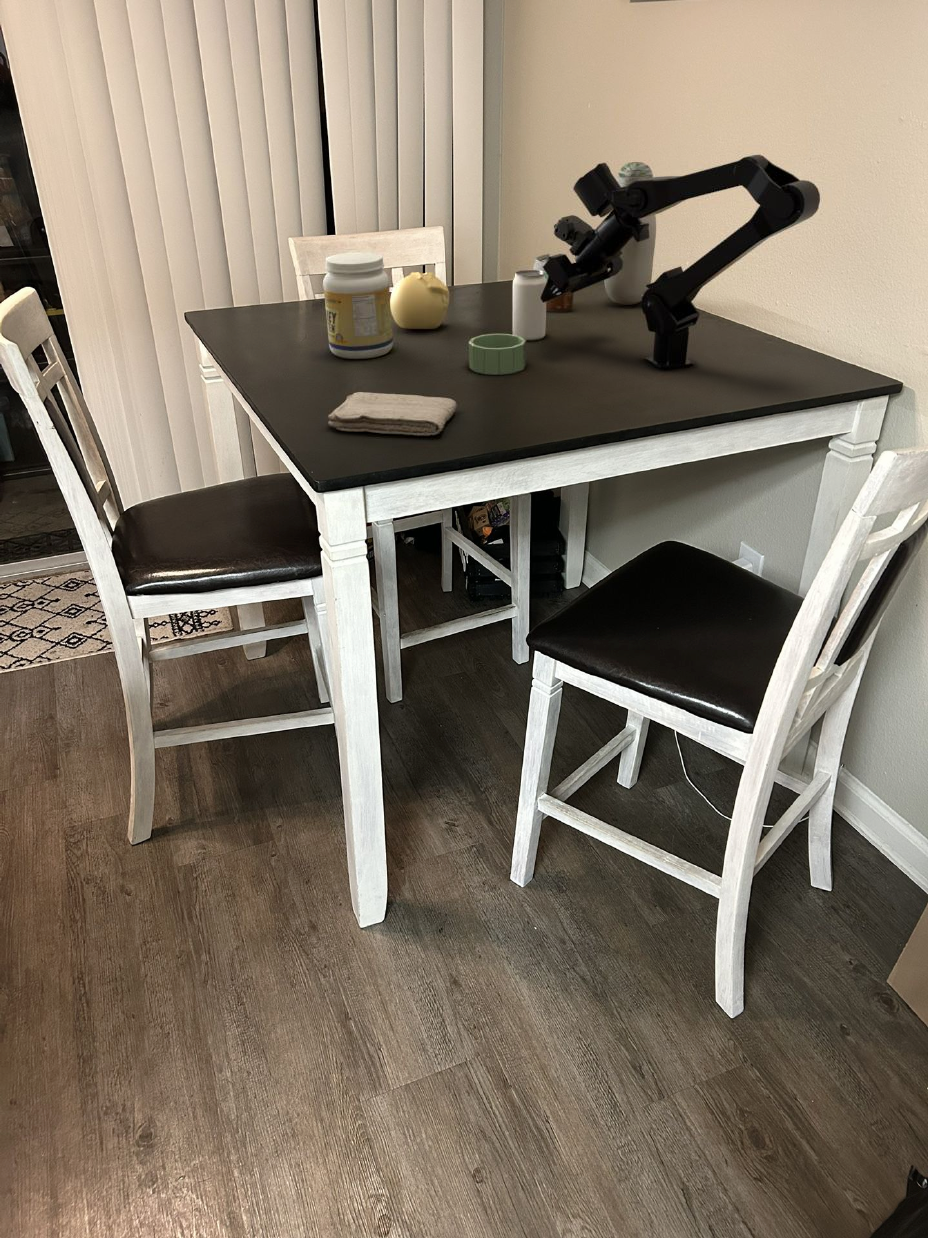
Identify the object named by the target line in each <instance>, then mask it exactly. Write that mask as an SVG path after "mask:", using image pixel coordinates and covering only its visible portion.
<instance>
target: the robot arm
mask: <svg viewBox="0 0 928 1238" xmlns="http://www.w3.org/2000/svg"><path fill="white" fill-rule="evenodd" d="M740 186H742V188H744V189H745V190H746V191H747V192H748V194H749V195H750V196H751V197H752V199H753V200H754V201H755V203H757V204H758V205H759V206H758V207H757V208H756V210H755V212H754V213H753V215H752V216H751V218H750V219H749V220H748V221H747V222H745V223H744V224H743V225H742V226H740V227H739V228H737V230H735V231H733V233H731V234H730V235H729V236H727V237H726V238H725V239H723V240H722V241H721V242H720V243H718V244H717V245H716V246H714V247H713V248H712V249H710V250H709V251H708V252H707V253H705V254H704V255H702V256H701V257H700V258H699V259H698V260H696V261H695V262H694V263H692V264H691V265H690V266H688V267H687V268H686V269H685V270H683V267H682V266H681V265H680V266H677V267H674V268H672V269H669V270H665V271H664V272H662V273H661V274H660V275H659V276H658V277H657V278H656V279H655V280H654V281H653V282H651V284H648V285H646V287H647V288H649V289H647V290H646V291H645V292H644V293H643V295H642V297H641V298H642V300H641V301H640V305H641V310H642V313H643V315H644V316H645V321H646V325H647V329H648V332H652V333H654V338H653V349H652V350H653V353H652V356H645V358H644V360H645V361H646V362H648V364H651V365H653V366H655V367H656V368H658V369H659V370H668V369H678V368H684V367H685V368H686V367H691V366H694V362H693V361H692V360H690V359H688V358H687V356H688V347H689V338H690V337H689V336H690V327H692V326H695V325H696V324H697V322H698V320H699V317H700V315H701V313H700V311H698V309H697V307H696V306H695V305H694V302H693V301H694V300H695V298H696V297H697V295H698V293H699V292H700V291H701V289H703V287H704V286H706V285H707V284H709V283H710V282H712V281H713V280H714V279H716V277H718V276H719V275H721V274H723V273H724V272H725V271H726V270H728V269H729V268H730V267H732V266H733V265H734V264H736V263H737V262H738V261H740V260H742V259H743V258H744V257H745V256H747V255H748V254H750V253H751V252H752V251H754V250H755V249H756V248H757V247H758V246H760V245H761V244H763V243H764V242H765V241H767V240H769V238H772V237H774V236H776V235H778V234H780V233H783V232H784V231H787V230H788V229H791V228H793V227H795V226H796V225H799V224H801V223H803V222H805V221H807V220H809V219H811V218H812V217H813V216H815V214H816V213H817V212H818V211H819V208H820V207H819V206H820V202H821V194H820V190H819V189H818V187H817V186H816V184H815V183H814V182H812V181H810V180H804V179H800V178H798V177H797V176H795V174H793V173H791V172H789V171H787V170H785V169H784V168H781V167H780V166H777V165H776V164H774V163H773V162H771V160H769V159H768V158H766V156H764V155H761V154H753V155H748V156H744V157H742V158H740V159H738V160H736V161H732V162H729V163H726V164H722V165H718V166H714V167H710V168H708V169H707V168H706V169H703V170H700V171H696V172H692V173H688V174H685V175H668V176H667V175H666V176H653V178H648V179H644V180H639V181H635V182H633V183H631V184H630V185H629V186H625V187H621V186H620V185H619V183H618V182H617V178H615V176H614V175H613V173H612V171H611V169H610V167H609V165H608V164H607V163H606V162H601V163H598V164H597V165H596V166H595V167H594V168H592V169H591V170H589V171H588V172H586V173H585V174H584V175H583V176H581V177H580V178H578V179H577V180H576V182H575V183H574V185H573V188H572V189H573V191H574V192H575V194H576V195H577V198H578V199H579V200H580V201H581V203H582V205H583V206H584V207H585V209H586V210H587V211H588V213H589V214H590V216H591V217H596V216H599V218H604V217H605V218H604V219H603V220H601V222H600V224H598V226H596V228H593V226H591V225H590V224H589V223H587V222H586V221H585V220H583V219H581V218H580V217H579V216H577V215H573V214H571V215H567V216H563V217H561V218H560V219H558V221H557V222H556V223H555V224H554V225H553V229H554V230H553V234H554V236H555V237H556V238H557V239H559V240H560V241H562V242H565V244H567V245H568V246H570V248H569V249H568V251H569V252H570V254H571V255H572V256H574V261H575V262H572V261H571V260H570V259H569V257H568V255H567V254H565V253H558V254H553V255H551V256H550V257H548V258H547V259H546V261H545V262H544V263H543V269H544V270H545V271H546V273H547V274H548V279H547V282H546V285H545V287H544V290H543V292H542V295H541V297H540V299H541V301H542V302H543V303H544V302H547V301H549V300H551V299H553V298H556V297H558V296H560V295H562V294H565V293H567V292H569V291H570V292H571V293H573V294H574V293H576V292H579V291H582V290H583V289H587V288H588V287H590V286H591V287H592V286H594V285H596V284H598V283H601V282H603V281H604V280H606V279H608V278H610V277H611V276H614V275H616V274H617V273H618V272H619V271H620V270H621V269H622V267H623V261H622V259H621V258H620V255H621V254H622V252H621V249H622V248H623V247H624V246H625V245H626V244H627V243H628V242H629V241H630V240H631V239H632V238H633V237H634V239H635V240H636V242H640V241H643V240H647V239H649V223H643V222H642V221H641V219H640V218H644V217H647V216H651V215H655V216H656V215H658V214H662V213H663V212H665V211H667V210H670V209H671V208H674V207H676V206H678V205H679V204H681V203H683V202H685V201H688V200H690V199H694V198H698V197H701V196H705V195H710V194H713V193H717V192H721V191H725V190H728V189H729V190H730V189H733V188H737V187H740ZM609 268H610V270H609V271H608V269H609Z"/></svg>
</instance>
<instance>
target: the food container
mask: <svg viewBox="0 0 928 1238" xmlns="http://www.w3.org/2000/svg"><path fill="white" fill-rule="evenodd" d="M548 257H550V253H546V254H541V255H539V256H537V257H536V258H535V261H534V264H533V269H532V270H539V271H543V272H544V273H545V274H544V276H545V279H546V282H547V279H548V274H547V273H546V271H545V270H544V269H543V263H544V262H545V261H546V259H547V258H548ZM573 304H574V293H571V292H570V291H569V292H567V293H565V294H562V295H560V296H558V297H556V298H553V299H551V300H549V301H547V302H546V312H554V313H564V312H572V311H573Z"/></svg>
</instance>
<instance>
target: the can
mask: <svg viewBox="0 0 928 1238" xmlns="http://www.w3.org/2000/svg"><path fill="white" fill-rule="evenodd" d="M514 274H515V275H514V278H513V280H512V335H516V336H520V337H522V338H523V339H525V340H526V342H529V341H531V342H532V341H533V342H534V341H538V340H541V339H544V337H545V336H546V331H547V330H546V329H547V328H546V327H547V326H546V325H547V324H546V323H547V311H546V302H544V303H543V302H542V301H541V299H540V297H541V295H542V292H543V290H544V287H545V285H546V279H545V276H544V274H545V273H544V272H543V271H539V270H534V269H522V270H518V271H515V273H514Z"/></svg>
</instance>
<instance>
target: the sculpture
mask: <svg viewBox="0 0 928 1238" xmlns="http://www.w3.org/2000/svg"><path fill="white" fill-rule="evenodd" d="M449 304H450V291H449V288H448V286H447V285H446V284H444V283H443V281H442V280H441V279H440V278H438V277H437V276H435V274H434V273H433V272H428V271H427V272H425V273H422V272H420V271H418V272H414V271H412V272H411V273H410V274H409V275H407V276H405V277H403V278H401V279H400V280H399V281H397V283H396V284H395V285H394V287H393V289H392V290H391V293H390V306H391V317H392V318H393V321H395V323H396V325H397V326H398V327H399V328H402V329H408V330H433V329H434V330H435V329H437V328H439V327H440V326H441V324H442V323H443V322H444V320H445V319H446V318H447V311H448V308H449Z"/></svg>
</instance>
